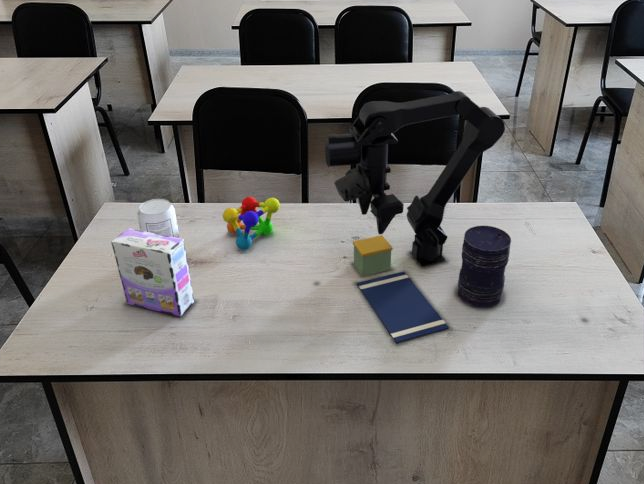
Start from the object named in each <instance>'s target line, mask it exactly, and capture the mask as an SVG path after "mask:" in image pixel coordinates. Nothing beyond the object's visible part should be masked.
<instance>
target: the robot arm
mask: <svg viewBox="0 0 644 484" xmlns="http://www.w3.org/2000/svg"><path fill="white" fill-rule="evenodd" d="M454 116H461V117H462V118H464V120H466V123H465V125H464V128H463V133H462V139H461V142H460V144H459V145H458V147H456V150H455V152H454V153H453V155H452V156H451V158H450V159H449V160H448V162H447V164H446V165H445V167H444V168H443V170H442V171H441V173H440V174H439V176H438V177H437V179H436V181H435V182H434V184H433V185H432V187H431V188H430V189H429V191H428V193H427V194H425V195H423V196H421V197H420V196H418V195H415V196H414V197H413V200H412V201H411V203H410V205H409V206H407V207H406V209H407V212H406V220H407V222H408V223H409V226H410V227H411V229H412V230H413V232H414V239H413V241H412V242H411V243H412V244H411V245H412V246H411V250H410V251H409V254H410V255H411V257H412V258H413V259H414V260H415V261H416V262H417V264H419V265H420V266H421V267H427V266H431V265H436V264H441V263H444V262H446V258H445V257H444V255H443V252H444V245H445V244H446V242H447V239H448V235H447V233H446V232H445V231H444V229H443V227H442V226H441V224H442V222H443V220H444V216H445V215H444V214H445V208H446V206H447V204H448V203H449V201H450V199H451V198H452V196H453V195H454V194H455V192H456V191H457V189H458V188H459V186H460V185H461V183H462V182H463V181H464V179H465V178H466V176H467V174H468V173H469V171H471V168H472V167H473V165H474V164H475V162H476V161H477V159H478V158H479V156H480V155H481V154H482V153H485V152H486V151H488V150H490V149H491V148H493V147H494V146H495V145H496V144H497V142H499V140H500V139H501V138H502V137H503V135H504V133H505V131H506V126H505V122H504V120H503V119H502V118H501V117H500V116H499V115H498V114H496V113H495V112H494V111H493V110H492V109H490V108H489V107H487V106H479V105H478V104H476V103H475V102H474V101H473V100H472V99H471V98H470V97H469V96H468V95H467V94H465V93H464V92H463V91H461V90H457V91H453V92H452V93H451V92H450V93H447V94H441V95H436V96H430V97H426V98H425V97H424V98H420V99H416V100H410V101H409V100H408V101H404V102H395V101H388V100H371V101H368V102H365V103H364V104H363V106H362V107H361V108H360V110H359V113H358V116H357V118H356V119H355V120H354V122H353V123H352V125H351V126H350V127H349V133H340V134H338V133H337V134H336V133H329V134H327V135H326V140H325V145H324V157H325V162H326V166H327V168H335V167H344V166H353V165H355V168H351V169H348V170H347V172H345V174H344V176H342V177H340V178H338V179H336V180H335V181H334V182H333V183H334V187H335V189H336V191H337V192H338V196H339V197H340V198H341V199H342V201H344V202H350V201H355V200H357V202H358V205H359V208H360V212H361V215H363V216H365V215H368V212H371V214H372V215H373V216H374V217H375V219H376V229H377V233H378V236H380V235H384V233H385V232H386V230H387V228H388V227H389V226H390V224H391V222H392V221H393V219H394V218H395V217H396V216H397V215H401V214H403V212H404V208H405V207H404V205H405V203H403V201H401V200H400V199H399V198H398V196H397V195H395V194H394V193H391V194H386V192H385V191H389V190H391V184H389V183H388V182H387V179H388V174H390V173H391V170H392V168H391V167H390V166H389V165H388V154H389V150H388V149H389V145H394V144H398V142H399V141H398V139H397V137H396V136H395V134H394V133H396V132H397V131H398V130H400V129H401V128H403V127H405V126H409V125H412V124H417V123H423V122H428V121H433V120H438V119H444V118H448V117H454ZM363 130H364V131H363ZM359 160H360V162H359ZM356 164H357V165H356Z"/></svg>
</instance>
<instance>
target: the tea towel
mask: <svg viewBox="0 0 644 484" xmlns="http://www.w3.org/2000/svg"><path fill="white" fill-rule="evenodd" d="M356 286H357V287H358V289H359V290H360V292H361V293H362V295H363V296H364V298H365V299H366V301H367V302H368V304H369V306H370V307H371V309H372V311H374V313H375V314H376V315H377V318H378V319H379V320H380V322H381V323H382V325H383V327H384V328H385V329H386V331H387V332H388V334H389V335H390V337H391V339H392V340H393V342H394V343H395V344H399V343H400V344H401V343H404V342H407V341H411V340H414V339H418V338H421V337H425V336H428V335H432V334H436V333H440V332H442V331H445V330H449V329H450V327H449V326H448V324H447V323H446V321H445V320H444V319H443V318H442V316H440V314H439V313H438V312H437V310H436V309H435V308H434V307H433V305H432V304H431V302H429V300H428V299H427V298H426V297H425V295H424V294H423V293H422V292H421V291H420V289H419V288H418V287H417V285H416V284H415V283H414V281H412V279H411V277H410V276H409V275H408V274H407V272H405V271H400V272H396V273H392V274H387V275H383V276H379V277H375V278H371V279H370V278H369V279H367V280H363V281H359V282H356Z"/></svg>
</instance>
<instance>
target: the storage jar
mask: <svg viewBox="0 0 644 484" xmlns="http://www.w3.org/2000/svg"><path fill="white" fill-rule="evenodd" d="M511 244H512V238H511V236H510V235H509V234H508V233H507V231H504V230H503V229H501V228H499V227H496V226H492V225H475V226H472V227H469V228H468V229H467V230H466V231H465V232H464V234H463V242H462V245H461V246H462V247H461V268H460V270H459V273H458V280H457V285H458V286H457V296H458V298H459V299H460V300H461V301H462V302H463V303H464V304H466V305H468V306H470V307H473V308H478V309H490V308H493V307H495V306H497V305H498V304H500V302H501V301H502V298H503V292H504V289H505V281H506V275H505V273H506V267H507V265H508V263H509V258H510V253H511Z"/></svg>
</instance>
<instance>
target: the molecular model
mask: <svg viewBox="0 0 644 484" xmlns="http://www.w3.org/2000/svg"><path fill="white" fill-rule="evenodd" d="M257 208H261V209H259V210H257ZM280 208H281V203H280V201H279V200H278V199H277V198H275V197H268V198H267V199H266V200H265V202H262V201H261V202H260V201H257V200H256V198H255V197H252V196H247V197H244V198H243V199H242V201H241V205H240V206H239V207H237V208H234V207H228V208H226V209H224V211H223V213H222V219H223V221H224V222H225V223H226V224H227V225H226V229H227V231H228V232H229V233H230V234H231V235H236V236H237V238H236V240H235V244H236V247H237V248H238V249H239V250H241V251H247V250H249V249H250V248H251V247H252V245H253V240H255V239H256V238H257V237H259V236H260V235H262V236H269V235H271V234H272V233H273V231H274V226H273V223H272V222H271V221H272V217H273V214H276V213H277V212H278V211H279V210H280ZM264 214H266V216H265V219H263V218H262V216H263V215H264ZM242 230H243V232H242ZM251 231H254V232H253V233H251V234H250V232H251Z"/></svg>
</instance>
